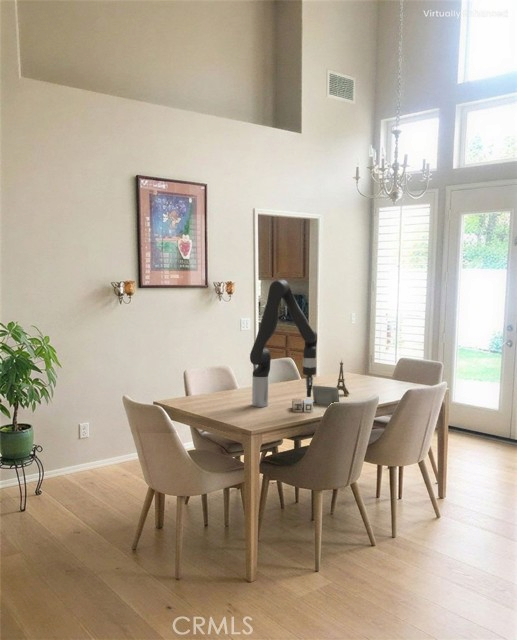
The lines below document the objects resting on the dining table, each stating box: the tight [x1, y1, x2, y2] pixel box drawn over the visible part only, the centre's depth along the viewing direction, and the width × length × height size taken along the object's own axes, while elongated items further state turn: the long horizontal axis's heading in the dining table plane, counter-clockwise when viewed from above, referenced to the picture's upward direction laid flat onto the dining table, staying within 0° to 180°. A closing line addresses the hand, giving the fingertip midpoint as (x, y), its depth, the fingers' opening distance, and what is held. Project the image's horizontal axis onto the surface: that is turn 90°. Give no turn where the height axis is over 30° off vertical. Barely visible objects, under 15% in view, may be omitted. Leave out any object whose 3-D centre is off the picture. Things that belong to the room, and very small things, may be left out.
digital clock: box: [311, 385, 340, 406], centre depth 329 cm, size 16×9×11 cm, turn 55°
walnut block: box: [291, 398, 303, 412], centre depth 313 cm, size 5×5×10 cm
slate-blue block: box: [302, 398, 314, 413], centre depth 313 cm, size 5×5×10 cm
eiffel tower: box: [336, 359, 351, 398], centre depth 357 cm, size 11×11×25 cm
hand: (308, 396), depth 307 cm, fingers closed
